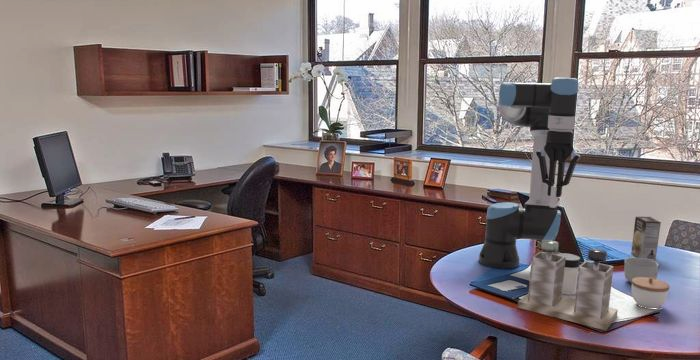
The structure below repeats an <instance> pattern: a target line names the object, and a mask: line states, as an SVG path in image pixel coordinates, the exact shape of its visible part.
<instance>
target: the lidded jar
mask: <svg viewBox="0 0 700 360" xmlns="http://www.w3.org/2000/svg"><path fill="white" fill-rule="evenodd" d="M669 290H670V284H668V283H667V282H666V281H663V280H661V279H658V278H657V279H654V278H652V277H649V278H648V277H636V278H633V279H632V283H631V295H632V296H631V297H632V299H633V300H634V301H635V303H636V305H637V304H638V305H640V306H642V307H646V308H658V309H659V308H660V307H662V305H664V304H665V302H667V299H668V295H669ZM638 305H637V306H638ZM640 306H639V307H640ZM642 307H641V308H642ZM646 308H645V309H646Z"/></svg>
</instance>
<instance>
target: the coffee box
mask: <svg viewBox="0 0 700 360" xmlns="http://www.w3.org/2000/svg"><path fill="white" fill-rule="evenodd" d="M634 220H635V221H634V228H633V237H632V244H631V254H632V255H633V257H635V258H646V259H650V260H653V261H657V252H658V244H659V238H660V230H661V225H662V224H661V223H662V222H661V221H659V220H657V219H655V218H653V217H652V216H635V219H634Z"/></svg>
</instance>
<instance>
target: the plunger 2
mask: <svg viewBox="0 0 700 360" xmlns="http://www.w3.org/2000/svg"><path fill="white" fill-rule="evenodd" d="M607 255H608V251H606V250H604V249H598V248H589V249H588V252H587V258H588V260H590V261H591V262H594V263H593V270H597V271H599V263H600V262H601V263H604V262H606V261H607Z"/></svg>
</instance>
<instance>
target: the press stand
mask: <svg viewBox="0 0 700 360" xmlns="http://www.w3.org/2000/svg"><path fill="white" fill-rule="evenodd" d="M565 258H566V257H565V256H560V255H556V254H554V253H552V257H551V261H549V260H546V251H544V252H543V251H539V252H538V253H536V254H534V255H533V256H531V260H530V261H531V262H530V270H529V282H528V283H529V284H528V293H527V294H526V295H525V296H523V297H522V298H521V299H519V300H518V301H517V308H518V309H522V310H526V311H529V312H533V313H536V314H540V315H545V316H549V317H552V318H557V319H560V320H564V321H567V322H568V321H569V322H572V323H575V324H579V325H582V326H583V325H584V326H587V327H590V328H595V329H598V330H603V331H608V329H609V327H610V326H611V325H612V323H613V322H614V320H615V319H616V317H617V316H618V311H619V309H618V308H616V307H615V308H614V307H610V301H611V300H610V299H611V293H612V283H613V274H614V265H609V264H604V263H600V262H599V271H597V270H593V263H594V261H591V260H590V261H589V260H585V261H583V263H580V266H579V267H578V276H577V286H576V294H575V295H574V296H575V297H574V298H573V297H568V296H564V295H563V294H562V289H563V279H564V269H565ZM612 321H613V322H612Z"/></svg>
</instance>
